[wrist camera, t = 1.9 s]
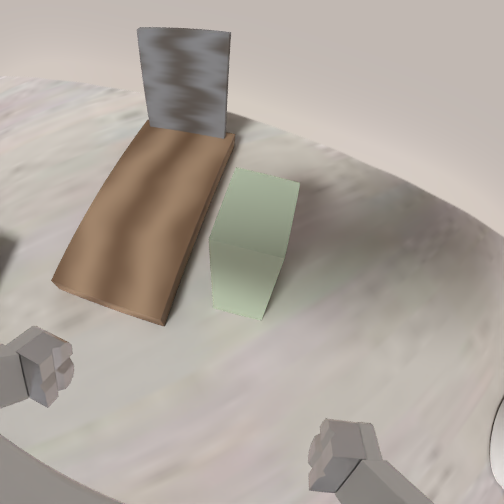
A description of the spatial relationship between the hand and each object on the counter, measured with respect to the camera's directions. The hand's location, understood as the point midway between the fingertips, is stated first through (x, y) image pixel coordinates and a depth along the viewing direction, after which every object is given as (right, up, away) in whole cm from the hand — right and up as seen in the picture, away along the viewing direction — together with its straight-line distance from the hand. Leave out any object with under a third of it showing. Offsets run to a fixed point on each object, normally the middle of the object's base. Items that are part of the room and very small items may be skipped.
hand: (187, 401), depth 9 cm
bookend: (-9, +9, +25) cm, 28 cm away
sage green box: (+1, +1, +22) cm, 22 cm away
